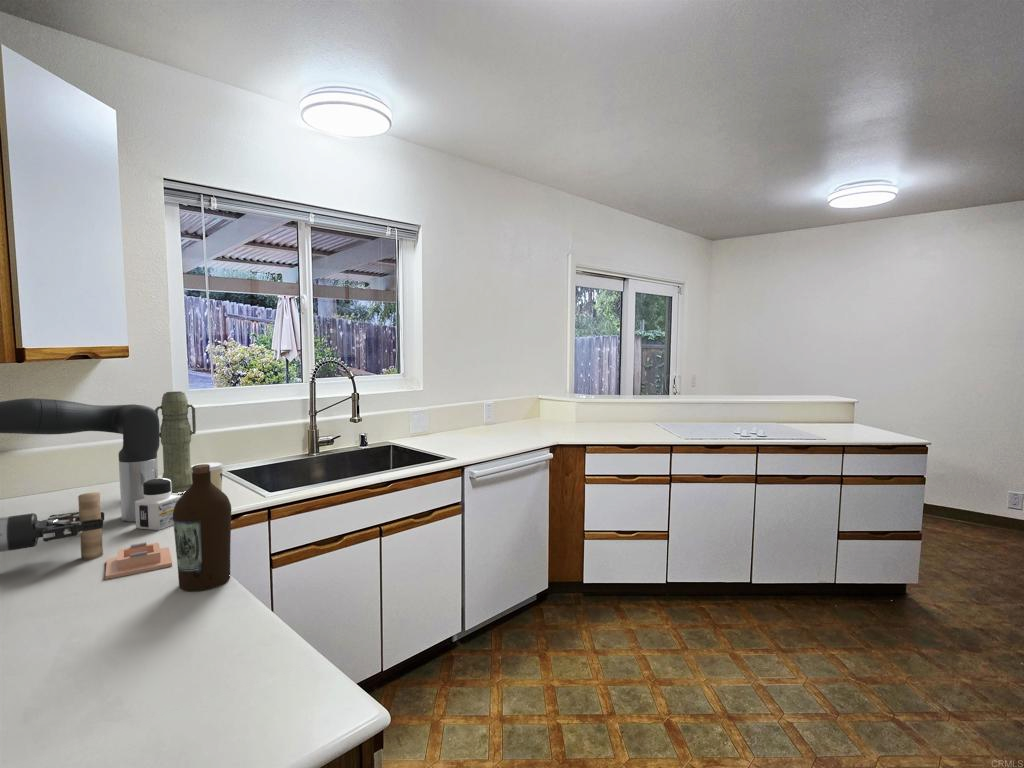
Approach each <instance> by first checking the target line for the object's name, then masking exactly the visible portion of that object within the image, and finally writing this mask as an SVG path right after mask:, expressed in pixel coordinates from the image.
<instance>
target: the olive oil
mask: <svg viewBox="0 0 1024 768" xmlns="http://www.w3.org/2000/svg"><path fill="white" fill-rule="evenodd" d="M194 465H195V464H194ZM209 468H210V465H208V464H201V465H195V466H193V467H192V470H193V473H192V482H193V483H192V485H191V487H190V488H189V489H188V490H187V491H186V492H185V493H184V494H181V496H180V499H179V500H178V501H177V503H176V504H175V507H174V511H173V518H172V520H173V525H172V526H173V533H174V542H175V544H174V545H175V553H176V554H175V555H176V562H177V563H176V564H177V575H178V587H179V589H180V590H181V591H185V592H203V591H209V590H212V589H215V588H217V587H220V586H222V585H224V584H225V583H227V582H228V581H229V580H230V579H231V543H232V542H231V541H232V540H231V534H232V533H231V532H232V504H231V501H230V499H229V496H227V494H226V493H225V492H223V491H221V490H220V489H218V488H217V487H216V486H215V485H213V484H212V483H211V471H210V470H209ZM229 575H230V576H229Z"/></svg>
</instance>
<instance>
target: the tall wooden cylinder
mask: <svg viewBox="0 0 1024 768" xmlns="http://www.w3.org/2000/svg"><path fill="white" fill-rule="evenodd" d="M77 499H78V512H79V521H82V523H83V521H88V520H94V519H101V512H102V510H101V492H94V491H93V492H86V493H82V494H81V493H80V494H79V495H78V497H77ZM102 529H103V528H101V529H95V530H88V531H82V533H79V536H80V537H79V538H80V539H79V540H80V554H81V555H80V556H81V560H83V561H87V560H88V561H89V560H94V558H95V559H98V558H100V557H102V556H104V552H103V547H104V546H103V533H102V531H103V530H102Z"/></svg>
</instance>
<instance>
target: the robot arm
mask: <svg viewBox="0 0 1024 768" xmlns="http://www.w3.org/2000/svg"><path fill="white" fill-rule="evenodd" d="M160 427H161V425H160V418H159V415H157V413H156V411H155V409H154V408H152V407H150V406H147V405H143V404H132V403H131V404H117V405H111V404H110V405H99V404H98V405H96V404H95V405H94V404H87V403H82V402H76V401H68V400H61V399H49V398H48V399H47V398H37V397H36V398H33V397H32V398H31V397H29V398H27V397H26V398H18V399H17V398H16V399H10V400H4V401H0V434H20V435H22V434H23V435H66V434H67V435H68V434H75V433H83V432H102V433H103V432H104V433H113V434H121V435H122V448H121V449H120V450H119V451H118V471H119V472H118V473H119V491H120V495H119V496H120V498H119V499H120V514H121V515H120V516H121V519H122V520H121V521H123V520H126V521H125V522H136V516H135V501H138V500H141V499H144V498H145V497H144V493H143V484H144V482H146V481H148V480H151V479H157V478H159V469H158V450H159V448H160V443H161V438H160ZM104 521H105V512H104V511H101V519H94V520H88V521H83V523H82V521H79V511H77V512H69V513H61V514H60V513H59V514H51V515H49V516H48V517H47V519H42V520H38V516H37V514H36V513H25V514H24V513H23V514H18V515H10V516H3V517H2V516H1V517H0V553H4V552H5V553H6V552H10V551H11V552H12V551H17V550H24V549H30V548H34V547H36V546H37V545H38V541H39V538H42V542H45V543H46V542H51V541H55V540H61V539H65V538H66V539H67V538H72V537H77V536H79V534H80V533H82V531H88V530H95V529H101V528H102V529H103V527H104Z"/></svg>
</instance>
